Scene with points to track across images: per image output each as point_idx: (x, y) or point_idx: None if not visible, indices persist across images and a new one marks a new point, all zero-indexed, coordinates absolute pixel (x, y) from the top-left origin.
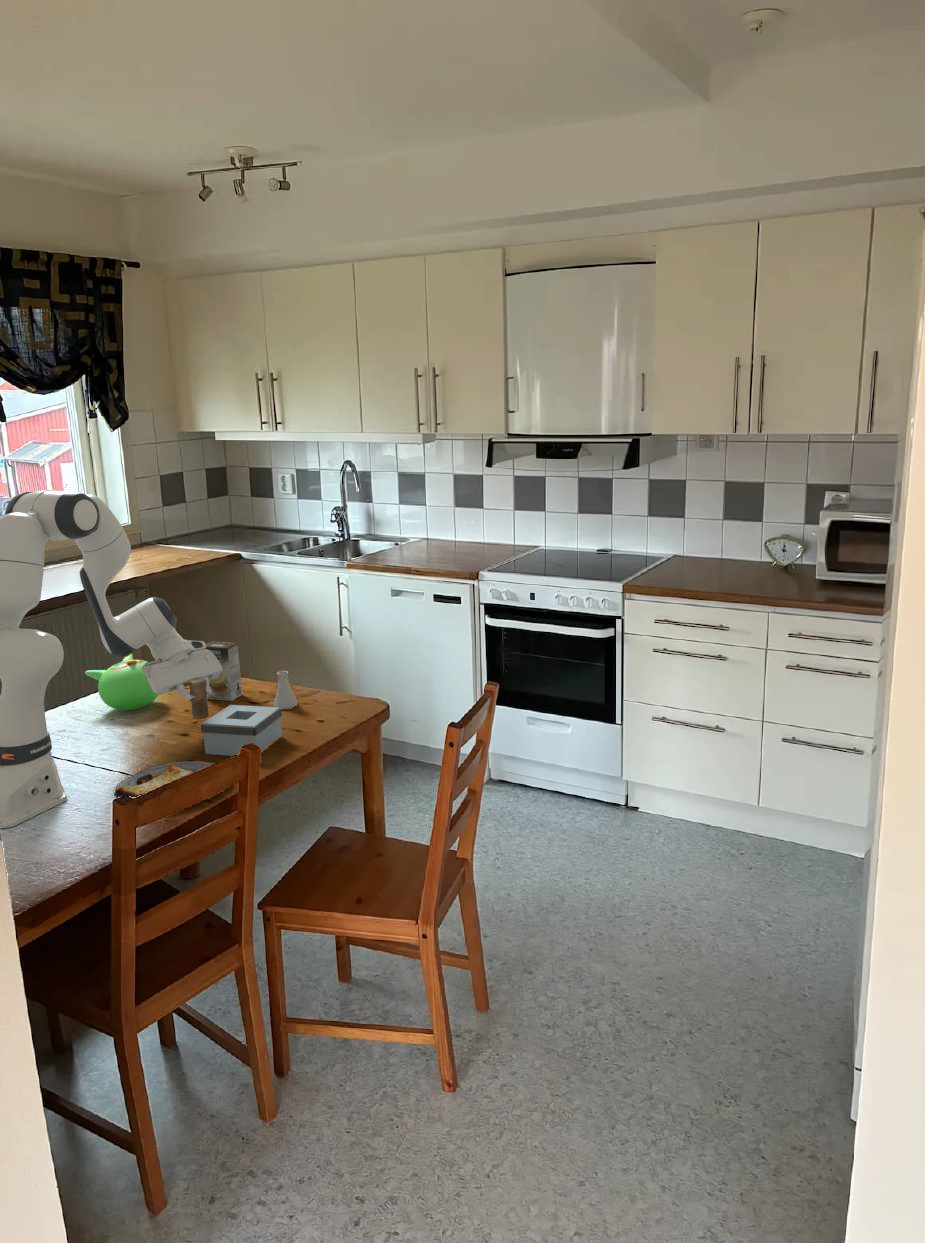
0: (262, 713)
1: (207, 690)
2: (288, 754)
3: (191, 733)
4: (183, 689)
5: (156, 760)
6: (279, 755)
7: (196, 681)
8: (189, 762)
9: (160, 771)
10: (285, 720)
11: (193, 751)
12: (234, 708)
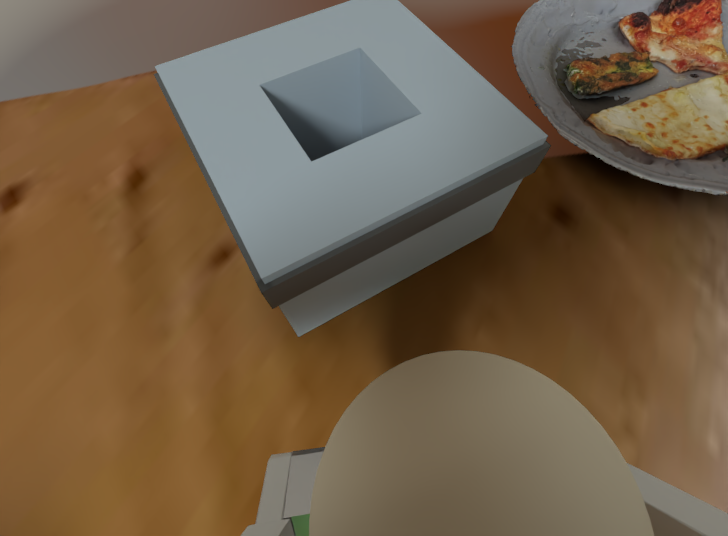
0: (261, 59)
1: (317, 464)
2: None
3: None
4: (704, 512)
5: (681, 312)
6: None
7: (536, 399)
8: (593, 148)
9: (693, 174)
10: (50, 306)
11: (520, 286)
12: (294, 200)
